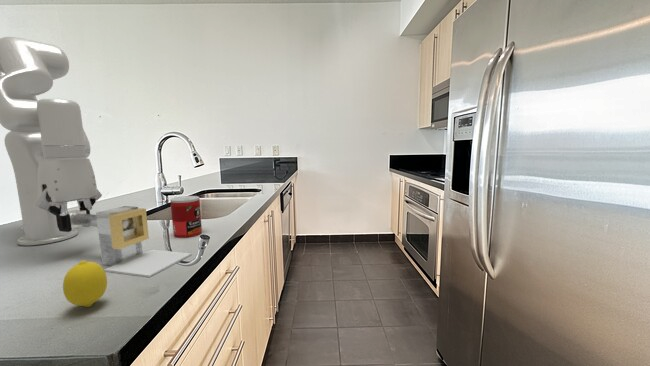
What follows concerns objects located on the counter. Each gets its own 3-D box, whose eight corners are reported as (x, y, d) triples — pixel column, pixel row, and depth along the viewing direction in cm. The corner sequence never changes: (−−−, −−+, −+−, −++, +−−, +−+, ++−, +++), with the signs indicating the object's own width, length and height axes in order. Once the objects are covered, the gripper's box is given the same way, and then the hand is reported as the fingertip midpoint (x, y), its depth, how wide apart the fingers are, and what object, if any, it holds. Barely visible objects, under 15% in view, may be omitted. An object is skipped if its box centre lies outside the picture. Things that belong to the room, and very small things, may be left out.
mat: (104, 271, 61) (104, 269, 61) (151, 250, 72) (151, 249, 72) (149, 277, 58) (149, 275, 58) (191, 255, 69) (191, 253, 69)
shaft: (62, 227, 69) (60, 213, 68) (78, 223, 72) (76, 209, 72) (120, 232, 64) (119, 217, 63) (135, 228, 67) (133, 213, 67)
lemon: (83, 298, 50) (77, 255, 49) (116, 296, 51) (111, 253, 49) (57, 317, 45) (49, 269, 44) (94, 315, 45) (88, 267, 44)
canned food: (191, 238, 82) (188, 200, 80) (167, 237, 83) (163, 200, 82) (207, 230, 89) (205, 196, 88) (184, 229, 91) (182, 195, 89)
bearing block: (102, 264, 64) (95, 212, 63) (129, 253, 71) (124, 206, 69) (116, 266, 63) (109, 213, 62) (142, 254, 70) (137, 206, 68)
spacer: (112, 248, 63) (108, 215, 62) (142, 237, 70) (139, 208, 69) (119, 249, 62) (116, 216, 61) (148, 238, 69) (145, 208, 68)
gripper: (90, 152, 76) (98, 219, 79) (8, 155, 60) (21, 238, 63) (111, 152, 74) (119, 220, 77) (33, 155, 59) (46, 241, 61)
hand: (75, 227), depth 70 cm, fingers closed on shaft, 3 cm apart
